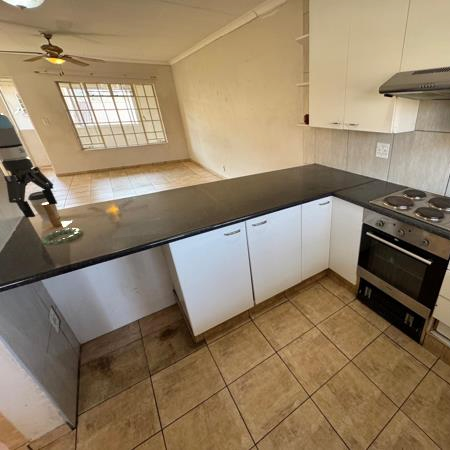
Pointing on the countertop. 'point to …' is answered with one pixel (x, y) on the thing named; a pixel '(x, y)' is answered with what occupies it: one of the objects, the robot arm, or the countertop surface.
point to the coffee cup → (36, 202)
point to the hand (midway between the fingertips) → (42, 210)
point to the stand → (53, 218)
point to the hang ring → (48, 241)
